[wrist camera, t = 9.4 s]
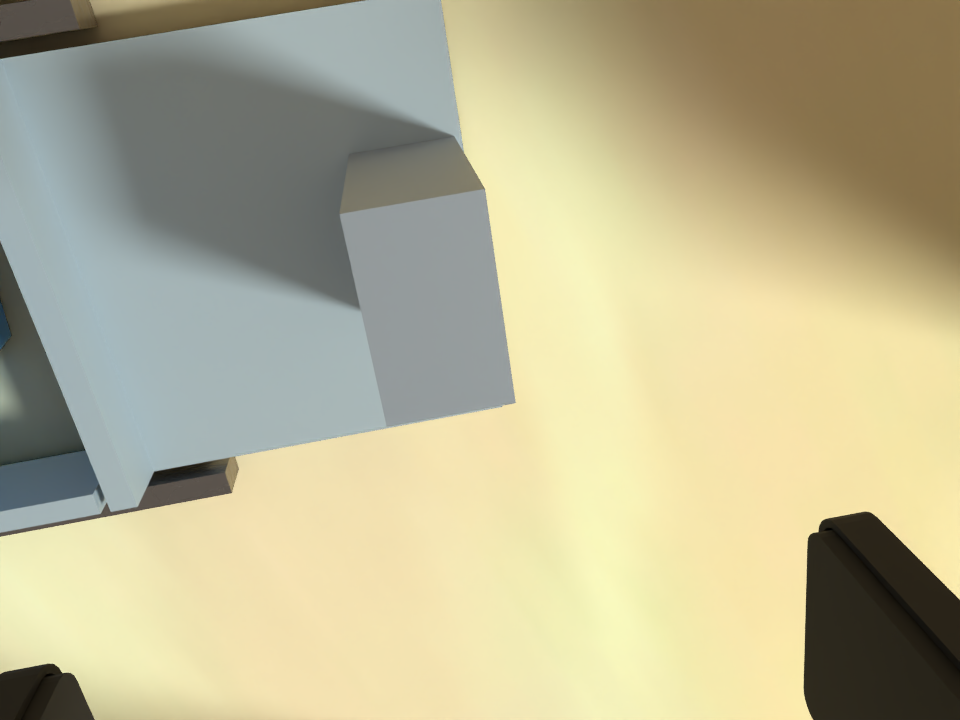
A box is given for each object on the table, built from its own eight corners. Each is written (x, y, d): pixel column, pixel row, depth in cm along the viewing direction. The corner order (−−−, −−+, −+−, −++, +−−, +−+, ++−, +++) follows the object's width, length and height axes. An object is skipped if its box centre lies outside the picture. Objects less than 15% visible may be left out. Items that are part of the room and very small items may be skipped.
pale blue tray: (436, -12, 22) (466, -16, 15) (498, 393, 28) (542, 534, 20) (-474, 134, 21) (-917, 206, 14) (-227, 527, 26) (-455, 727, 19)
